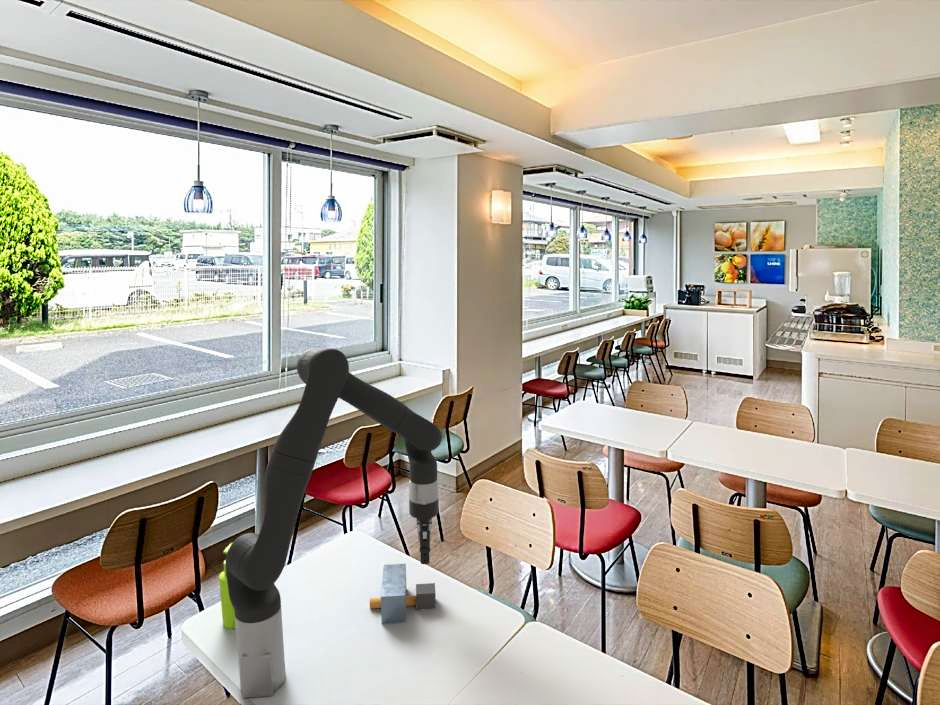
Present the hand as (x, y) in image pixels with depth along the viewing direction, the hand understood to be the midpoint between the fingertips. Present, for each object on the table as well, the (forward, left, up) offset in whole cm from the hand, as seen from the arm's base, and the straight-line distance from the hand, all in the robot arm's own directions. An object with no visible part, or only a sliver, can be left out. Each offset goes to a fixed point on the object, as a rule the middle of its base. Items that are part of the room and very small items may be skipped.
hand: (424, 556), depth 148 cm
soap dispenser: (-2, +48, -14) cm, 50 cm away
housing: (0, +8, -14) cm, 16 cm away
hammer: (0, +6, -14) cm, 15 cm away
